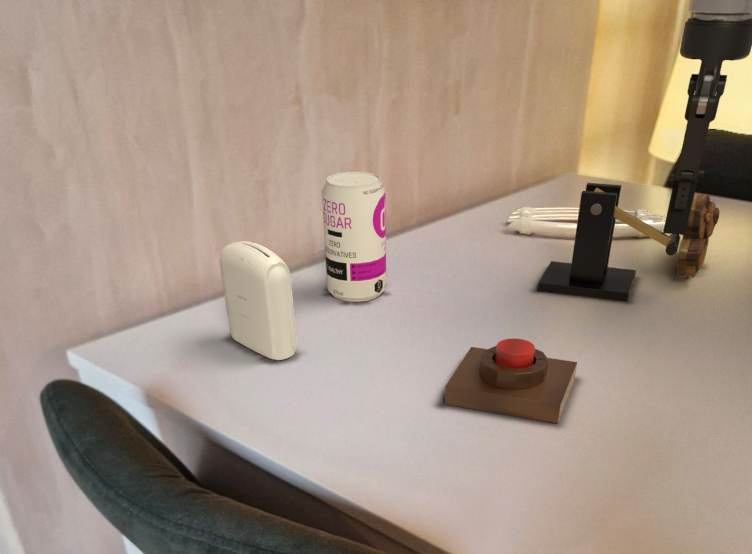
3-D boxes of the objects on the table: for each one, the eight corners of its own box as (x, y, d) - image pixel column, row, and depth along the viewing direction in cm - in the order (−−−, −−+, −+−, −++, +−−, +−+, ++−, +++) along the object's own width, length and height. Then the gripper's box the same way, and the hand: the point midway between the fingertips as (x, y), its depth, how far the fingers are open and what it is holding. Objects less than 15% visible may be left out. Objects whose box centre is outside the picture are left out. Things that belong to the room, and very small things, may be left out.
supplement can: (391, 283, 109) (390, 171, 100) (378, 305, 103) (377, 188, 93) (336, 279, 111) (330, 169, 101) (320, 301, 104) (313, 186, 95)
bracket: (634, 278, 108) (653, 183, 100) (627, 301, 102) (646, 202, 94) (550, 269, 112) (561, 176, 104) (537, 291, 105) (548, 194, 98)
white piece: (666, 242, 120) (506, 237, 124) (658, 223, 128) (507, 218, 131) (670, 225, 118) (508, 220, 122) (661, 206, 126) (509, 202, 130)
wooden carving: (705, 290, 104) (724, 215, 98) (669, 287, 105) (686, 212, 99) (707, 251, 116) (724, 182, 110) (675, 248, 118) (690, 180, 111)
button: (536, 356, 81) (538, 341, 80) (528, 372, 79) (530, 357, 77) (500, 351, 83) (501, 336, 82) (490, 367, 80) (492, 351, 79)
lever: (673, 248, 102) (684, 232, 101) (670, 261, 99) (682, 244, 97) (588, 201, 103) (598, 184, 101) (582, 211, 99) (592, 194, 97)
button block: (574, 379, 85) (579, 346, 82) (557, 423, 77) (562, 388, 75) (469, 364, 88) (471, 331, 86) (444, 404, 81) (445, 370, 79)
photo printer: (225, 338, 95) (211, 239, 88) (254, 328, 98) (242, 230, 90) (273, 365, 89) (262, 260, 82) (302, 354, 91) (294, 251, 84)
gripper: (690, 10, 90) (649, 215, 105) (682, 21, 81) (638, 245, 95) (758, 11, 88) (707, 220, 102) (759, 23, 78) (702, 251, 93)
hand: (674, 232), depth 99 cm, fingers closed
